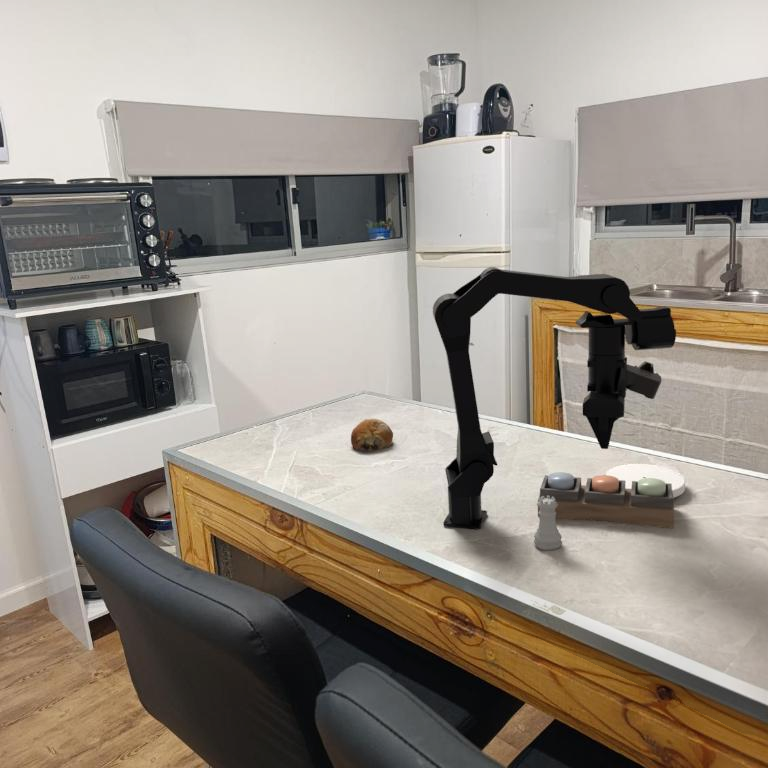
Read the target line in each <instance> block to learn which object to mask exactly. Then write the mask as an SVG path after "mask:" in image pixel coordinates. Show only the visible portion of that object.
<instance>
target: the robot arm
mask: <svg viewBox="0 0 768 768" xmlns="http://www.w3.org/2000/svg"><path fill="white" fill-rule="evenodd" d="M500 294H501V295H511V296H518V297H527V298H537V299H544V300H554V301H561V302H562V301H563V302H568V303H571V304H576V305H578V306H581V307H585V308H588V309H590V310H594V311H598V312H600V313H605V314H597V315H596V314H594V315H593V314H592V313H591V312H590V311H588V310H585V311H584V312H583V314H582V316H580V317H579V318H578V319H576V320H575V324H576V325H577V326H578V327H580V328H581V329H588V359H587V361H586V362H587V368H588V370H587V371H588V372H587V373H588V374H587V375H588V382H587V389H586V390H587V392H590V393H588V395H586V396H585V397H584V399H583V402H582V416H584V417H586V419H587V421H588V423H589V425H590V427H591V430H592V432H593V434H594V436H595V438H596V440H597V443H598V444H599V446H600V448H601V449H603V450H608V449H609V445H610V442H611V437H612V432H613V429H614V423H615V422H616V421H618V420H619V419H621V418H624V417H625V403H626V400H625V398H626V397H627V390H629V391H630V392H634V393H637V394H638V395H642V396H644V398H647V399H651V400H654V399H655V398H656V395H657V393H658V390H659V388H660V385H661V384H662V376H661V375H660V374H659V372H656V373H655V370H654V364H653V363H651V362H649V361H643V362H642V363H641V364H640V365H632V364H631V365H630V364H628V357H627V356H626V343H627V345H630V346H631V347H632V348H633V350H634V351H645V350H660V349H661V350H662V349H672V348H673V347H674V345H675V343H676V339H677V338H676V337H677V330H676V329H675V322H674V319H673V316H672V315H671V313H672V309H671V307H668V306H665V305H664V306H657V307H653V308H641V309H639V307H638V306H637V305H636V304H635V303H634V301H633V300H632V299H631V297H630V296H631V292H630V288H629V286H628V284H627V283H626V281H625V280H623V279H621V278H619V277H616V276H613V275H609V274H607V273H597V274H596V273H595V274H583V275H576V276H575V275H574V276H561V275H560V276H559V275H554V274H553V275H552V274H551V275H550V274H543V273H535V272H525V271H517V270H508V269H500V268H498V267H496V266H490V267H487V268H485V269H484V270H482V272H481V273H479V275H478V276H476V277H475V278H473V279H471V280H469V282H467V283H465V284H464V285H462V286H461V287H459V288H458V289H457V290H455V291H454V292H453V293H444V294H443V295H441V296H439V297H437V299H436V300H435V302H434V303H433V306H432V315H433V318H434V322H435V324H436V327H437V330H438V332H439V335H440V339H441V341H442V344H443V347H444V350H445V353H446V354H445V355H446V358H447V365H448V373H449V378H450V385H451V391H452V397H453V403H454V409H455V416H456V422H457V435H456V437H457V438H456V457H455V458H454V459H453V460H452V461H451V462H450V463H449V464H448V465H446V467H445V470H444V471H445V477H446V481H447V485H448V486H447V501H448V514H447V516H446V517H445V519H444V521H442V523H443V526H446V527H453V528H454V527H456V528H465V529H467V528H468V529H475V530H476V529H481V527H482V524H483V523H484V521H485V519H486V517H487V515H488V511H487V510H484V509H482V492H483V489H484V486H485V483H487V482H488V481H489V480H491V478H492V477H493V476H494V473H495V472H494V471H495V469H494V467H495V466H498V462H497V460H496V457H495V453H494V451H495V442H494V440H493V438H492V435H491V433H490V431H486V432H482V429H481V423H480V417H479V412H478V411H479V410H478V404H477V398H476V397H477V396H476V391H475V384H474V378H473V377H474V376H473V371H472V365H471V364H472V363H471V357H470V356H471V355H470V341H471V340H470V339H471V329H472V328H471V324H472V323H471V322H472V321H471V319H472V317H474V316H475V315H476V314H477V313H479V312H480V311H481V310H482V309H483V308H484V307H485V306H486V305H487V304H488V303H490V302H491V301H492V299H494V298H495V297H496V296H497V295H500ZM613 314H618V315H620V316H622V317H624V318H613V316H612V315H613Z"/></svg>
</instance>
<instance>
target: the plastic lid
mask: <svg viewBox="0 0 768 768" xmlns="http://www.w3.org/2000/svg"><path fill="white" fill-rule="evenodd" d="M604 475H609V476H613V477H616V478H617V479H618V480H622V481H625V488H626V489H632V481H637V482H638V481H639V480H641V479H644V478H655V479H659V480H662V481H664V482H665V483H667V484H672V492H673V499H675V498H676V497H679V496H681V495H682V494H683V493H684V492H685V491H686V478H685V477H684V475H682V474H681V473H679V471H677V470H675V469H672V468H669V467H666V466H661V465H656V464H655V465H654V464H650V463H649V464H647V463H629V464H621V465H617V466H614V467H612V468H609V469H608V470H607V471H606V472H605V474H604Z"/></svg>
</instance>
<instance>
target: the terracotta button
mask: <svg viewBox="0 0 768 768" xmlns="http://www.w3.org/2000/svg"><path fill="white" fill-rule="evenodd" d="M592 492H605V493H618V492H619V480H618V479H617V478H616V477H613V476H609V475H605V474H601V475H596V476H594V477H592Z"/></svg>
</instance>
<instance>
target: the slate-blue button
mask: <svg viewBox="0 0 768 768" xmlns="http://www.w3.org/2000/svg"><path fill="white" fill-rule="evenodd" d="M547 476H548V488H550V489H563V490H573V489H574V475H573V474H571V473H568V472H558V471H557V472H553V473H550V474H548V475H547Z"/></svg>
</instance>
